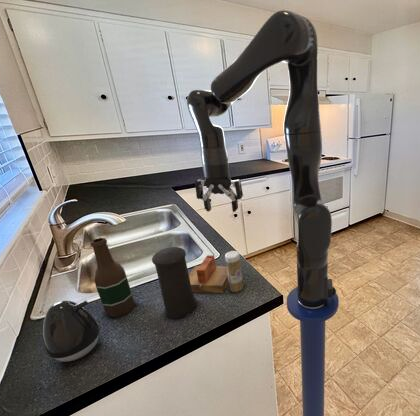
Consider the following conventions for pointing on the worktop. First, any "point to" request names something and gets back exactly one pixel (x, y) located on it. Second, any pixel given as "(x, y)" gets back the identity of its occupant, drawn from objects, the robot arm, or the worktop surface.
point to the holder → (206, 269)
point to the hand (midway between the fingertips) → (222, 210)
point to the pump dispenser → (69, 331)
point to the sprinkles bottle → (234, 271)
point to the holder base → (210, 281)
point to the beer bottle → (111, 281)
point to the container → (174, 281)
